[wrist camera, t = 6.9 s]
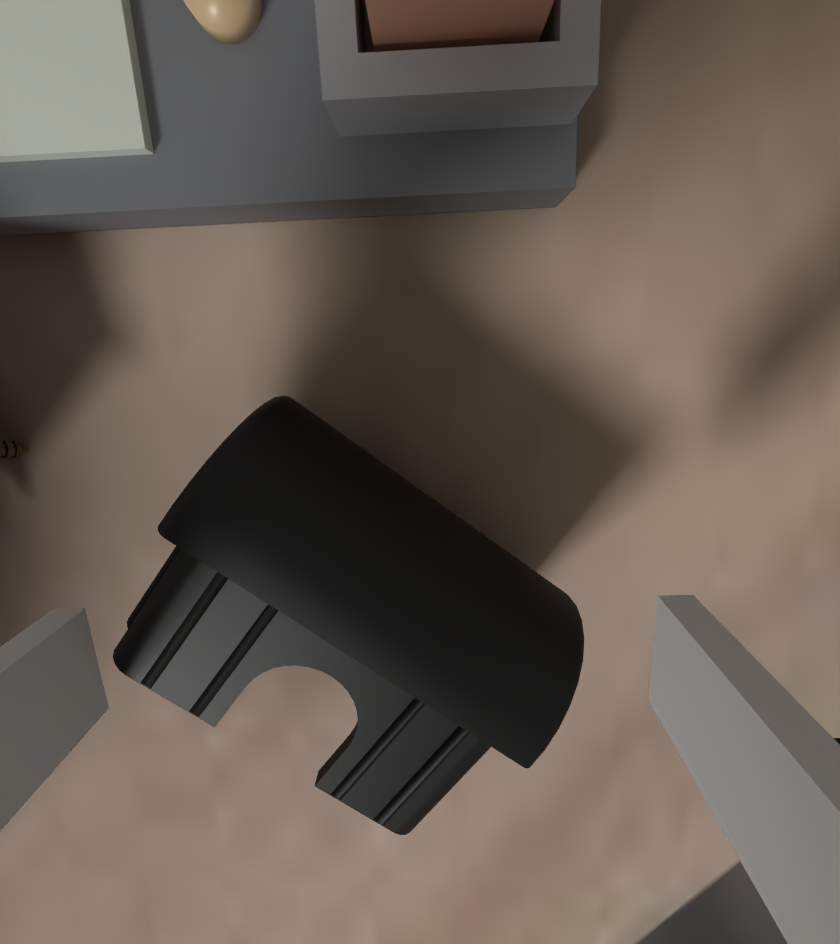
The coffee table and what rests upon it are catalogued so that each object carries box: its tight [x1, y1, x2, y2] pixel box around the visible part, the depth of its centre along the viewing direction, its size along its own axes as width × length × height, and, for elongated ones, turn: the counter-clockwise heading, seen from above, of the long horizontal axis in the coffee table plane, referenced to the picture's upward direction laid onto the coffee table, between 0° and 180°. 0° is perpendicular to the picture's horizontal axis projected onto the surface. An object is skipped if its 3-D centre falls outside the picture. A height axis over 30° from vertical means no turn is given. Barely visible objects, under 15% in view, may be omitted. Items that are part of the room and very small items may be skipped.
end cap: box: [113, 396, 584, 835], centre depth 14 cm, size 10×7×7 cm
